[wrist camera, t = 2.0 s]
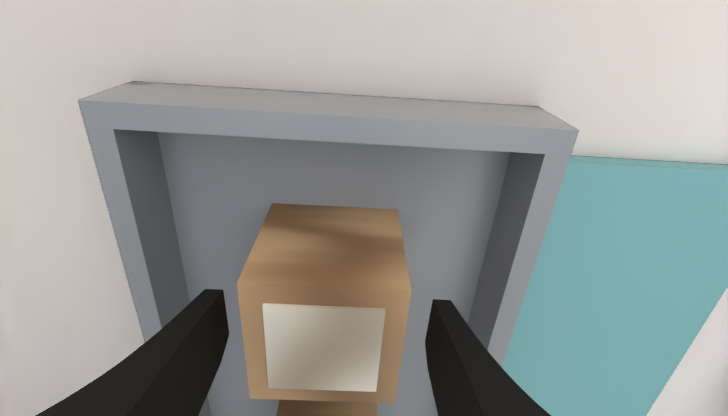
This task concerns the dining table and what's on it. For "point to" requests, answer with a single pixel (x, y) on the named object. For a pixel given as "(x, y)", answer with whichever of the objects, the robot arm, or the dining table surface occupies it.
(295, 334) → the labelled box
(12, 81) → the dining table surface
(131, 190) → the tray
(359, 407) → the plain box
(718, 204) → the teal board
